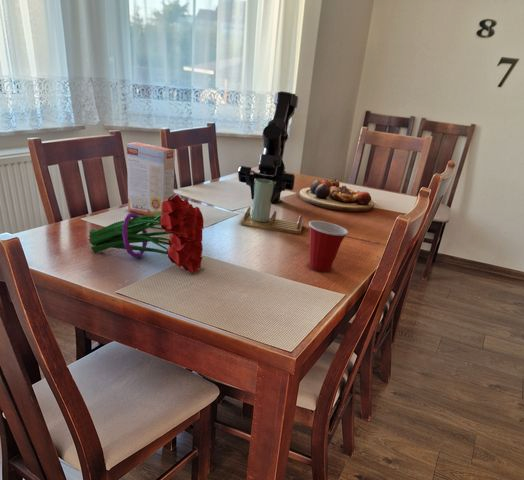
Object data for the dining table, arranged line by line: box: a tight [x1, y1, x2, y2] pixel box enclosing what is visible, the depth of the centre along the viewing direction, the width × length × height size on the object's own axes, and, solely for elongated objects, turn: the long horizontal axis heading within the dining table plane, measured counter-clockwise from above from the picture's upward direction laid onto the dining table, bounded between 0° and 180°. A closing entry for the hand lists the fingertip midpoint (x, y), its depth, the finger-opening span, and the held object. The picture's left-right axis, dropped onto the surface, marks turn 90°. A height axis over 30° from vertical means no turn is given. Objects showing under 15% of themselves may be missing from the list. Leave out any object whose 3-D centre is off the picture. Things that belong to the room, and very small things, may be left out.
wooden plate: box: [298, 178, 375, 213], centre depth 201 cm, size 32×32×8 cm
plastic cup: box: [308, 220, 349, 273], centre depth 131 cm, size 11×11×12 cm
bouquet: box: [88, 194, 205, 275], centre depth 120 cm, size 20×16×30 cm
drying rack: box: [240, 206, 304, 235], centre depth 162 cm, size 10×20×4 cm, turn 82°
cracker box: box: [126, 141, 176, 216], centre depth 151 cm, size 14×6×21 cm, turn 65°
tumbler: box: [250, 179, 274, 222], centre depth 159 cm, size 6×6×12 cm
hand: (261, 200), depth 158 cm, fingers closed on tumbler, 6 cm apart
